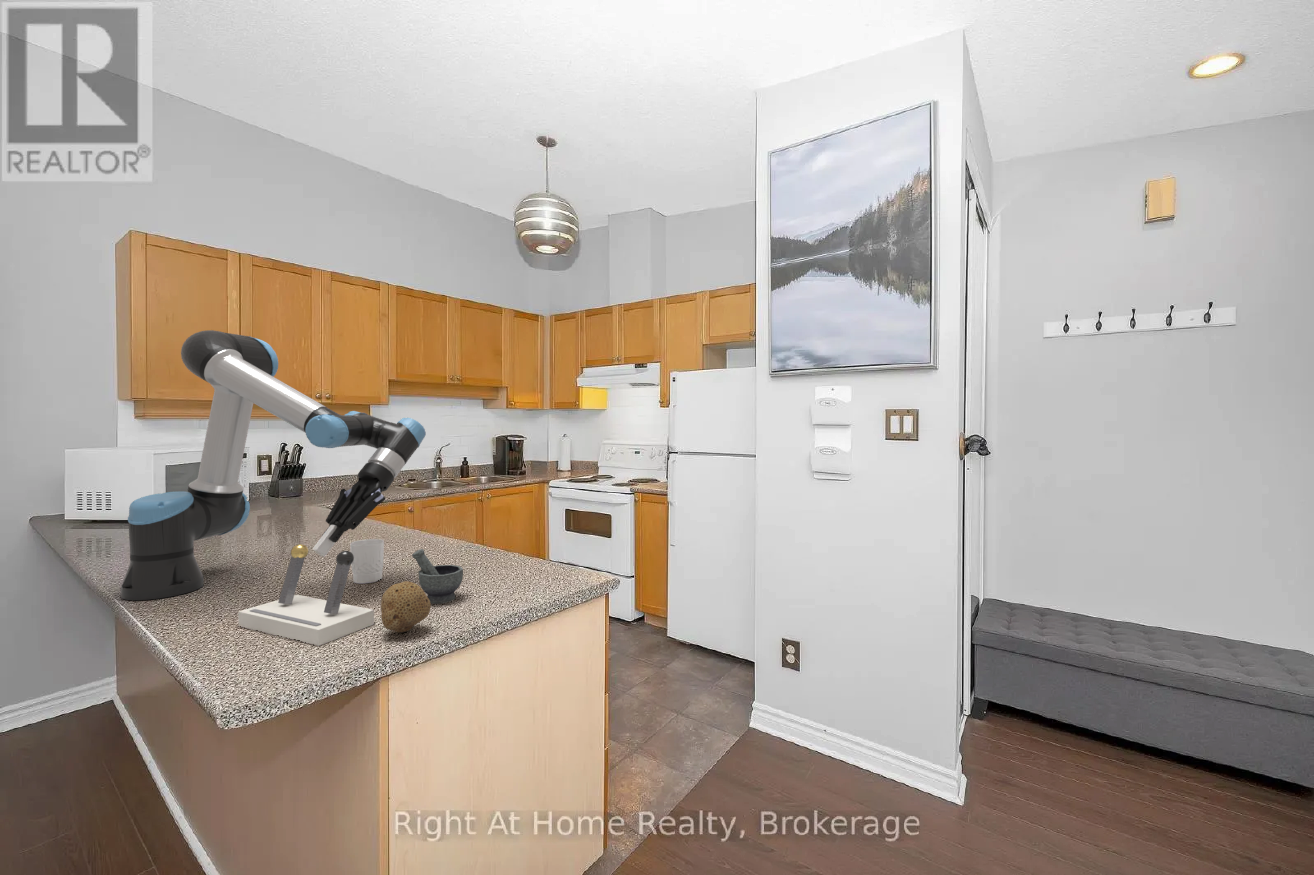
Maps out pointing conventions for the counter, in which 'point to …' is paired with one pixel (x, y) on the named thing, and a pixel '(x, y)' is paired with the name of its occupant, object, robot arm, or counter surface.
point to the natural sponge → (404, 606)
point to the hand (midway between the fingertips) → (318, 552)
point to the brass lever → (293, 573)
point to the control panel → (306, 620)
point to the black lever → (338, 581)
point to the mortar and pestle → (438, 579)
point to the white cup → (367, 560)
